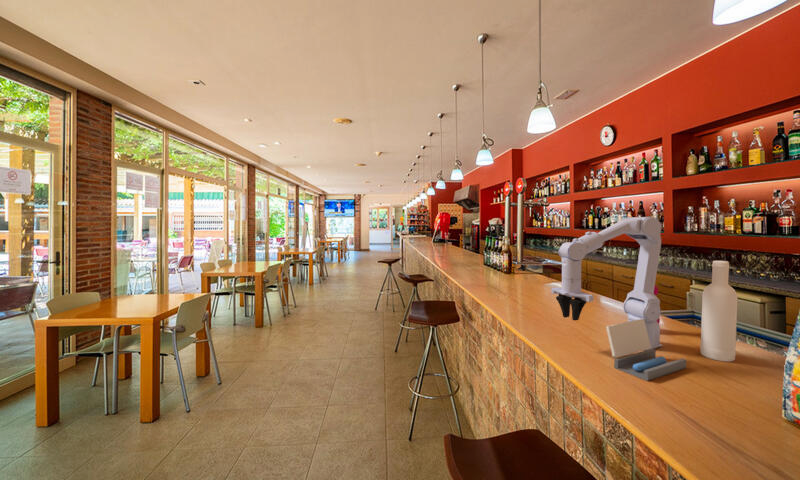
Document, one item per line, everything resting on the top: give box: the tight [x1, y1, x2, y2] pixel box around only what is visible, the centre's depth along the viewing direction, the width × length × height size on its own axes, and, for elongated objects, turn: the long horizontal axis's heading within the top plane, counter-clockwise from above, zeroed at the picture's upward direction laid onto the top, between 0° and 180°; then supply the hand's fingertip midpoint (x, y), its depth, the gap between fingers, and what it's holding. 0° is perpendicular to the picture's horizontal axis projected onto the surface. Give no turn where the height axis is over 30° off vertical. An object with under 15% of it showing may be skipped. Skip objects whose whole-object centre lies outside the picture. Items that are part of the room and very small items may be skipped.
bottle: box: [699, 260, 739, 363], centre depth 102 cm, size 8×8×30 cm
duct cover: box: [605, 319, 651, 359], centre depth 101 cm, size 17×9×1 cm
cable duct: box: [613, 348, 687, 382], centre depth 96 cm, size 18×9×3 cm, turn 113°
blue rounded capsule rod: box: [633, 355, 667, 371], centre depth 95 cm, size 13×2×2 cm, turn 113°
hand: (570, 318), depth 110 cm, fingers open, 3 cm apart
